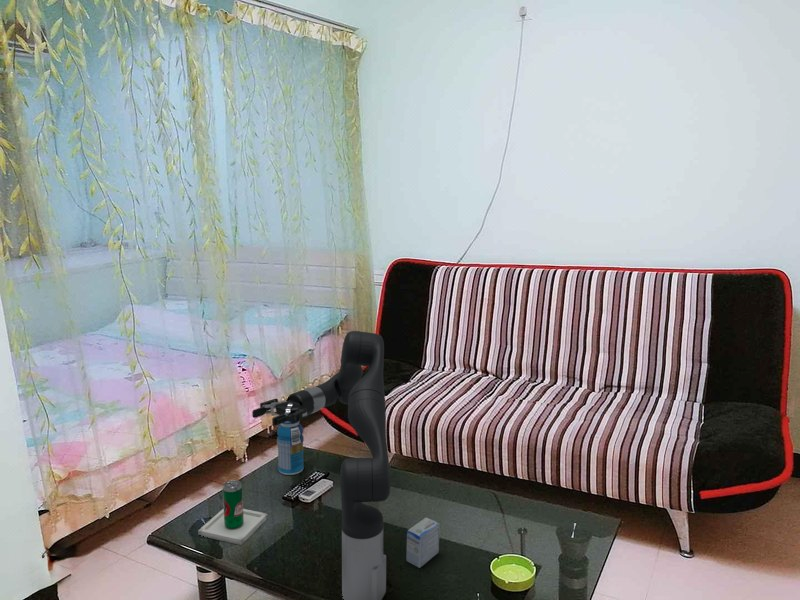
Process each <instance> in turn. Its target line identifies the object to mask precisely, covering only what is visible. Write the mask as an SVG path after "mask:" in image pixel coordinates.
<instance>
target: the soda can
mask: <svg viewBox="0 0 800 600" xmlns="http://www.w3.org/2000/svg"><path fill="white" fill-rule="evenodd" d="M222 505H223V508H224V525H225V526H226V527H227V528H229V529H235V528H238V527H240V526H241V525H242V524H243V523H244V515H243V509H244V497H243V485H242V484H241V481H240V480H237V479H232V480H228V481H226V482H225V483H224V484H223V487H222Z"/></svg>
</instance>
